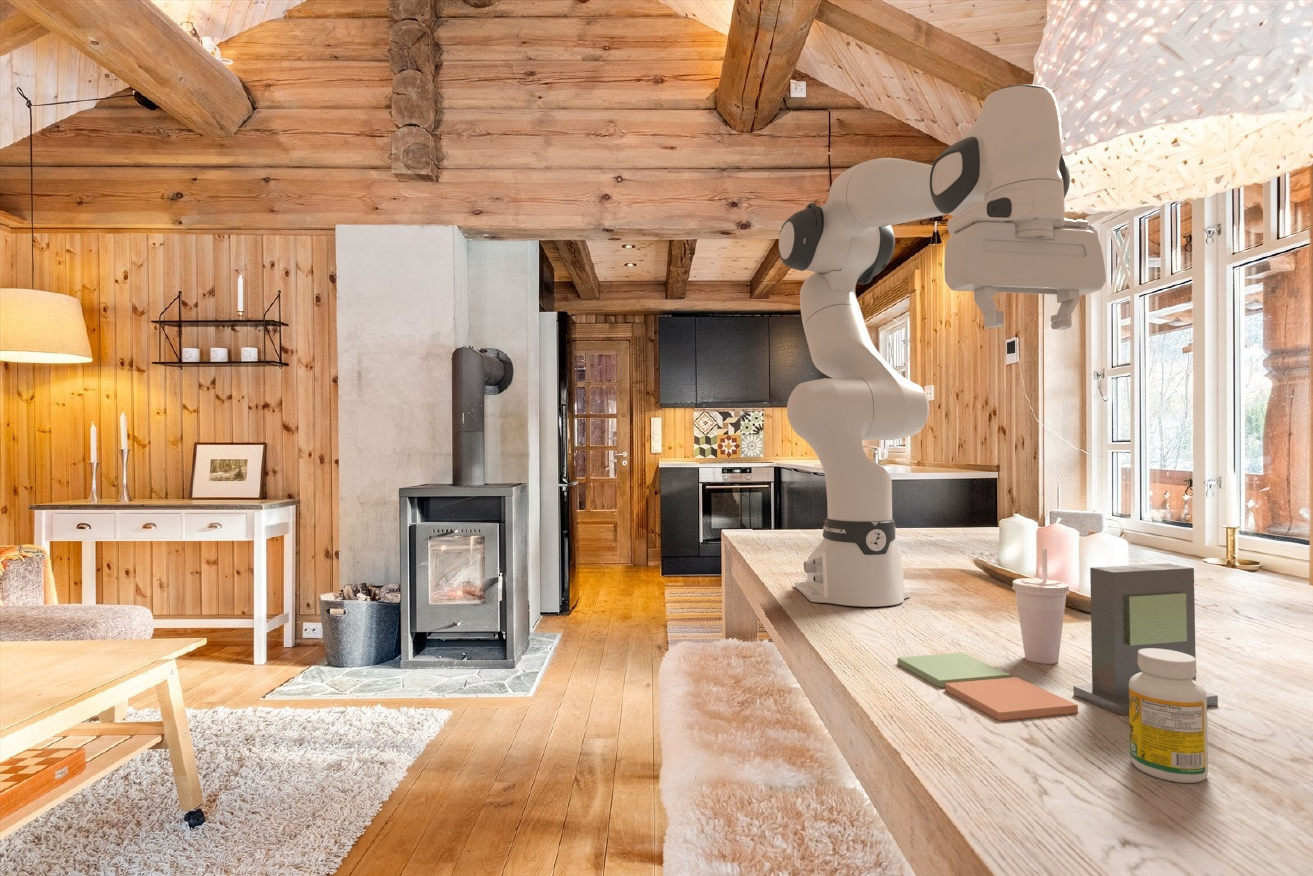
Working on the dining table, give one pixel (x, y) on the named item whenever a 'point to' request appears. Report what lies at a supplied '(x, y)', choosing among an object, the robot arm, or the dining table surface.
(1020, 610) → the smoothie
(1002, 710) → the terracotta pad
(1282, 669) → the dining table surface
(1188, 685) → the supplement bottle
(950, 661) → the sage pad
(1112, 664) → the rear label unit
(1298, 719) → the dining table surface
